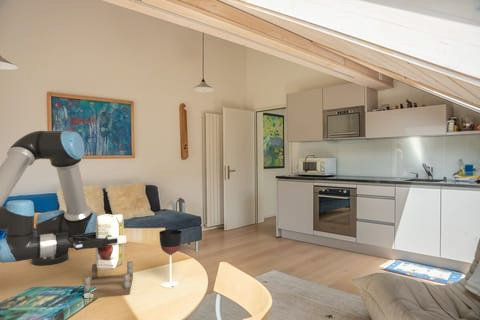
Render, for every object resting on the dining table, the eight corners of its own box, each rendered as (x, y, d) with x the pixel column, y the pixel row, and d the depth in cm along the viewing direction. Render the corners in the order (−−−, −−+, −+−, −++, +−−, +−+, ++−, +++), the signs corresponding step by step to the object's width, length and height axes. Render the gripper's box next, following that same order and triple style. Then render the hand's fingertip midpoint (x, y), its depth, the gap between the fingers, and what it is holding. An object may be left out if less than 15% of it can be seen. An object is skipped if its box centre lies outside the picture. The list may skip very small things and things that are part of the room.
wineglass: (171, 289, 120) (171, 235, 120) (154, 284, 124) (154, 232, 124) (185, 282, 127) (185, 231, 127) (169, 278, 131) (169, 228, 131)
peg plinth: (92, 282, 127) (92, 264, 127) (132, 278, 131) (132, 261, 131) (83, 299, 111) (83, 278, 111) (129, 294, 115) (129, 275, 115)
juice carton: (104, 262, 125) (104, 213, 125) (125, 263, 124) (125, 213, 124) (93, 269, 117) (93, 216, 118) (115, 269, 117) (116, 216, 117)
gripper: (51, 248, 120) (115, 240, 132) (57, 264, 102) (130, 252, 114) (52, 228, 120) (115, 222, 132) (57, 240, 102) (130, 231, 114)
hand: (122, 236), depth 123 cm, fingers closed on juice carton, 9 cm apart
